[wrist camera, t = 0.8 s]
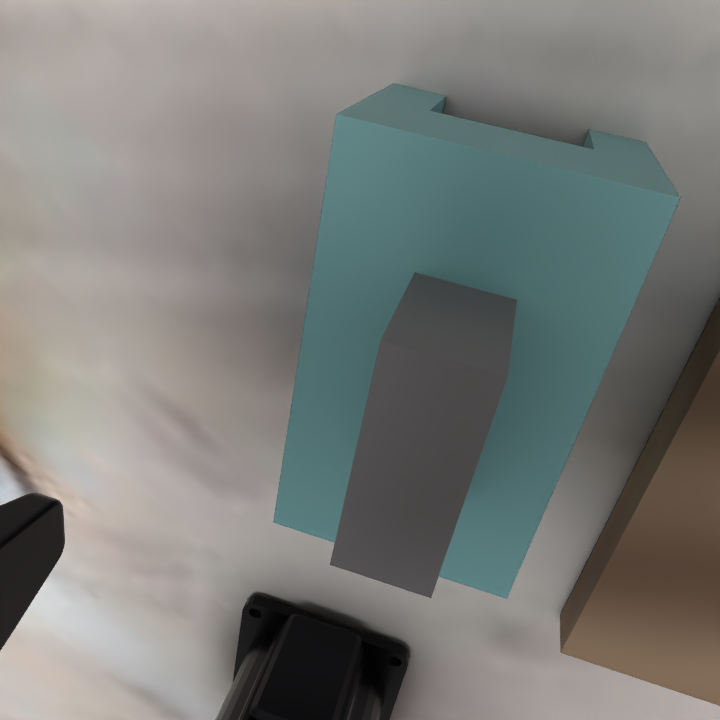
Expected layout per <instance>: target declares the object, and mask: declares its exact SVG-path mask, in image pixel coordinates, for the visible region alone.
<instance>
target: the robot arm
mask: <svg viewBox="0 0 720 720" xmlns="http://www.w3.org/2000/svg"><path fill="white" fill-rule="evenodd" d="M64 544H65V533H64V515H63V505H62V504H61V502H60V501H59V500H57V499H54V498H51V497H48V496H46V495H43V494H39V493H30V494H27V495H24V496H22V497H20V498H17V499H15V500H12V501H10V502H8V503H5V504H3V505H1V506H0V650H1V649H2V647H3V646H4V644H5V643H6V641H7V640H8V638H9V637H10V635H11V634H12V632H13V631H14V629H15V627H16V626H17V624H18V623H19V621H20V620H21V618H22V616H23V615H24V613H25V612H26V610H27V609H28V607H29V605H30V604H31V602H32V601H33V599H34V598H35V596H36V594H37V593H38V591H39V590H40V588H41V587H42V585H43V583H44V582H45V580H46V579H47V577H48V576H49V574H50V572H51V571H52V569H53V568H54V566H55V565H56V563H57V561H58V560H59V558H60V556H61V554H62V552H63V549H64ZM409 658H410V653H409V651H408V649H407V648H405V647H404V646H402V645H400V644H398V643H395V642H392V641H389V640H386V639H383V638H380V637H377V636H374V635H371V634H369V633H366V632H363V631H360V630H357V629H354V628H351V627H348V626H345V625H342V624H339V623H336V622H334V621H331V620H328V619H325V618H322V617H319V616H316V615H313V614H310V613H307V612H304V611H301V610H299V609H296V608H293V607H290V606H287V605H284V604H281V603H278V602H275V601H272V600H269V599H266V598H263V597H261V596H251V597H249V598H248V600H247V602H246V604H245V606H244V608H243V612H242V619H241V627H240V634H239V641H238V649H237V656H236V664H235V671H234V678H233V684H232V686H231V688H230V690H229V692H228V694H227V697H226V699H225V701H224V703H223V705H222V707H221V709H220V712H219V714H218V716H217V718H216V720H389V718H390V716H391V713H392V710H393V707H394V704H395V701H396V698H397V695H398V693H399V690H400V687H401V684H402V681H403V678H404V675H405V672H406V670H407V667H408V662H409Z"/></svg>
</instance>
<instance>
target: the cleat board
mask: <svg viewBox="0 0 720 720" xmlns="http://www.w3.org/2000/svg"><path fill="white" fill-rule="evenodd" d="M560 645H561V653H563V654H566V655H569V656H572V657H575V658H578V659H581V660H584V661H587V662H590V663H593V664H596V665H599V666H602V667H605V668H608V669H611V670H614V671H617V672H620V673H623V674H626V675H629V676H632V677H635V678H638V679H641V680H644V681H647V682H650V683H653V684H656V685H659V686H662V687H665V688H668V689H671V690H674V691H677V692H680V693H683V694H686V695H689V696H692V697H695V698H698V699H701V700H704V701H707V702H710V703H713V704H716V705H719V706H720V299H719V301H718V303H717V305H716V307H715V309H714V311H713V313H712V315H711V317H710V319H709V321H708V323H707V325H706V327H705V329H704V331H703V333H702V335H701V337H700V339H699V341H698V343H697V345H696V347H695V349H694V351H693V353H692V355H691V357H690V358H689V360H688V362H687V364H686V366H685V368H684V370H683V372H682V374H681V376H680V378H679V380H678V382H677V384H676V386H675V388H674V390H673V392H672V394H671V396H670V398H669V400H668V402H667V404H666V406H665V408H664V410H663V412H662V414H661V416H660V418H659V420H658V422H657V424H656V426H655V428H654V430H653V432H652V434H651V436H650V438H649V440H648V442H647V444H646V446H645V448H644V450H643V452H642V454H641V456H640V458H639V460H638V462H637V464H636V466H635V468H634V470H633V472H632V474H631V476H630V478H629V480H628V482H627V484H626V486H625V488H624V490H623V492H622V494H621V496H620V498H619V499H618V501H617V503H616V505H615V507H614V509H613V511H612V513H611V515H610V517H609V519H608V521H607V523H606V525H605V527H604V529H603V531H602V533H601V535H600V537H599V539H598V541H597V543H596V545H595V547H594V549H593V551H592V553H591V555H590V557H589V559H588V561H587V563H586V565H585V567H584V569H583V571H582V573H581V575H580V577H579V579H578V581H577V583H576V585H575V587H574V589H573V591H572V593H571V595H570V597H569V599H568V601H567V603H566V605H565V607H564V609H563V611H562V613H561V615H560Z"/></svg>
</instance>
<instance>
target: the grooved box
mask: <svg viewBox="0 0 720 720" xmlns="http://www.w3.org/2000/svg"><path fill="white" fill-rule="evenodd" d="M445 98H446V96H444V95H440V94H436V93H432V92H427V91H423V90H419V89H414V88H410V87H406V86H402V85H397V84H392V85H390V86H388V87H386V88H384V89H382V90H380V91H379V92H377V93H375V94H373V95H371V96H369V97H367V98H366V99H364V100H362V101H360V102H358V103H356V104H354V105H353V106H351V107H349V108H347V109H345V110H343V111H341V112H340V113H338V114H336V121H335V127H334V134H333V140H332V147H331V153H330V160H329V166H328V173H327V179H326V185H325V192H324V198H323V205H322V211H321V218H320V224H319V231H318V237H317V243H316V250H315V256H314V263H313V269H312V276H311V282H310V289H309V295H308V302H307V308H306V314H305V321H304V327H303V334H302V340H301V347H300V353H299V360H298V366H297V373H296V379H295V385H294V392H293V398H292V405H291V411H290V418H289V424H288V431H287V437H286V443H285V450H284V456H283V463H282V469H281V476H280V482H279V489H278V495H277V502H276V508H275V514H274V521H273V522H274V523H277V524H280V525H283V526H286V527H289V528H292V529H295V530H298V531H301V532H304V533H307V534H310V535H313V536H317V537H320V538H323V539H326V540H329V541H332V542H335V544H334V549H333V553H332V558H331V562H330V565H333V566H336V567H339V568H342V569H345V570H348V571H351V572H354V573H357V574H360V575H363V576H366V577H369V578H372V579H375V580H378V581H381V582H384V583H387V584H390V585H393V586H396V587H399V588H402V589H405V590H408V591H411V592H414V593H417V594H420V595H423V596H426V597H429V598H431V596H432V594H433V591H434V588H435V585H436V582H437V579H438V576H439V577H442V578H445V579H448V580H451V581H454V582H457V583H460V584H463V585H466V586H470V587H473V588H476V589H479V590H482V591H485V592H488V593H491V594H494V595H497V596H500V597H503V598H506V599H507V597H508V594H509V592H510V590H511V587H512V585H513V583H514V580H515V578H516V576H517V574H518V571H519V569H520V567H521V564H522V562H523V560H524V557H525V555H526V553H527V550H528V548H529V546H530V544H531V541H532V539H533V537H534V534H535V532H536V530H537V527H538V525H539V523H540V520H541V518H542V516H543V514H544V511H545V509H546V507H547V504H548V502H549V500H550V497H551V495H552V493H553V490H554V488H555V486H556V484H557V481H558V479H559V477H560V474H561V472H562V470H563V467H564V465H565V463H566V460H567V458H568V456H569V454H570V451H571V449H572V447H573V444H574V442H575V440H576V437H577V435H578V433H579V430H580V428H581V426H582V424H583V421H584V419H585V417H586V414H587V412H588V410H589V407H590V405H591V403H592V400H593V398H594V396H595V394H596V391H597V389H598V387H599V384H600V382H601V380H602V377H603V375H604V373H605V370H606V368H607V366H608V364H609V361H610V359H611V357H612V354H613V352H614V350H615V347H616V345H617V343H618V340H619V338H620V336H621V334H622V331H623V329H624V327H625V324H626V322H627V320H628V317H629V315H630V313H631V310H632V308H633V306H634V304H635V301H636V299H637V297H638V294H639V292H640V290H641V287H642V285H643V283H644V280H645V278H646V276H647V274H648V271H649V269H650V267H651V264H652V262H653V260H654V257H655V255H656V253H657V250H658V248H659V246H660V244H661V241H662V239H663V237H664V234H665V232H666V230H667V227H668V225H669V223H670V220H671V218H672V216H673V214H674V211H675V209H676V207H677V204H678V202H679V200H680V196H679V194H678V193H677V191H676V189H675V188H674V186H673V185H672V183H671V182H670V180H669V178H668V177H667V175H666V174H665V172H664V171H663V169H662V167H661V166H660V164H659V163H658V161H657V160H656V158H655V156H654V155H653V153H652V152H651V150H650V149H649V147H648V145H647V144H646V142H641V141H637V140H633V139H629V138H624V137H620V136H616V135H611V134H607V133H603V132H599V131H594V130H590V129H589V130H588V133H587V136H586V139H585V142H584V145H583V147H581V146H577V145H573V144H569V143H564V142H560V141H556V140H552V139H547V138H543V137H539V136H535V135H531V134H526V133H522V132H518V131H514V130H509V129H505V128H501V127H497V126H493V125H488V124H484V123H480V122H476V121H472V120H467V119H463V118H459V117H455V116H450V115H446V114H442V111H443V107H444V102H445Z"/></svg>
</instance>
